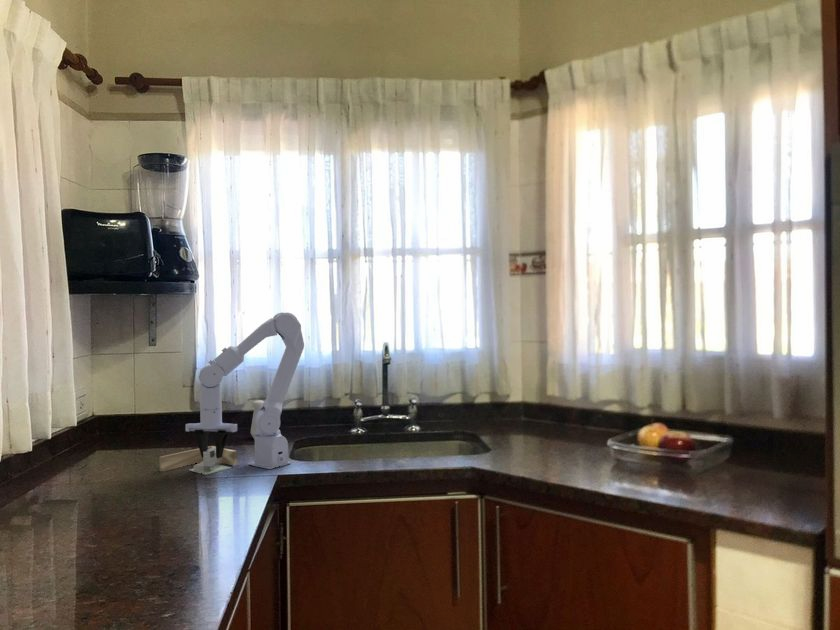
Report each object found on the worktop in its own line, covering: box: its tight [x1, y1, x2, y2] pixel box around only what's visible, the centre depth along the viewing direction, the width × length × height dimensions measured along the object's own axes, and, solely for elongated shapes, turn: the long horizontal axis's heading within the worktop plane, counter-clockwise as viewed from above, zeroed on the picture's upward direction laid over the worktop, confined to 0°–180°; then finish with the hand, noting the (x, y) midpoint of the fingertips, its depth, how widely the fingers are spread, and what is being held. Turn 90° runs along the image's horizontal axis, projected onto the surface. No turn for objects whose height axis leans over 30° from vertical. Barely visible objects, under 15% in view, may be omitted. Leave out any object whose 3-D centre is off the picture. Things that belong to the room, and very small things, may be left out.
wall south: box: [210, 445, 238, 466], centre depth 183 cm, size 12×1×4 cm, turn 52°
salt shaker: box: [250, 399, 265, 440], centre depth 217 cm, size 6×6×13 cm
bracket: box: [193, 447, 222, 472], centre depth 175 cm, size 6×5×6 cm
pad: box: [189, 464, 232, 476], centre depth 175 cm, size 8×8×1 cm
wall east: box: [158, 445, 212, 472], centre depth 180 cm, size 1×16×4 cm, turn 143°
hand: (212, 457), depth 175 cm, fingers open, 4 cm apart
